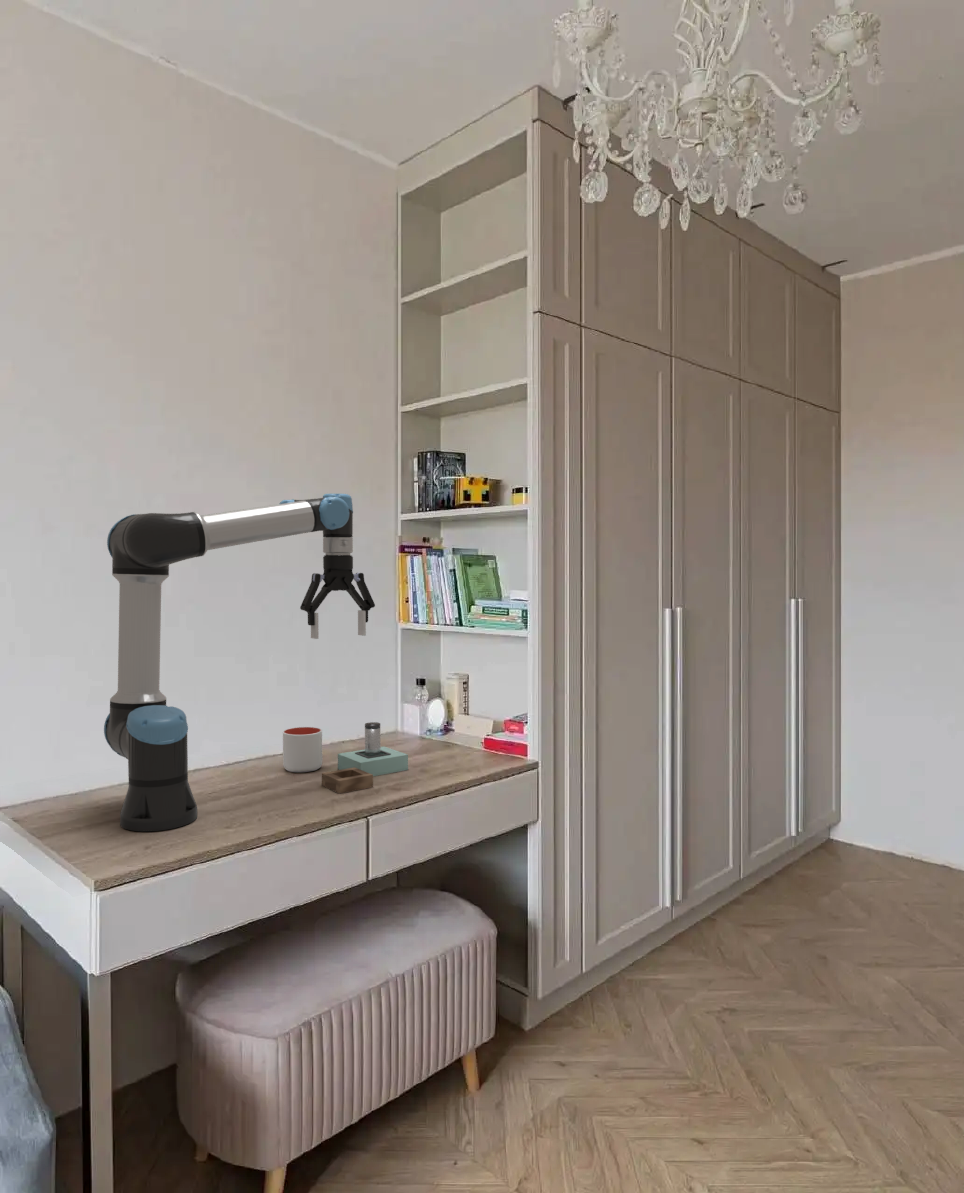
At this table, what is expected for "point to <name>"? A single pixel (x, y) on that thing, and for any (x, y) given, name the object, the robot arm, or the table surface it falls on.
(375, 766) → the block
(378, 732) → the plug
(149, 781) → the robot arm
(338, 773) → the brown wooden square tray
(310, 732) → the cup
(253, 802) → the table surface
